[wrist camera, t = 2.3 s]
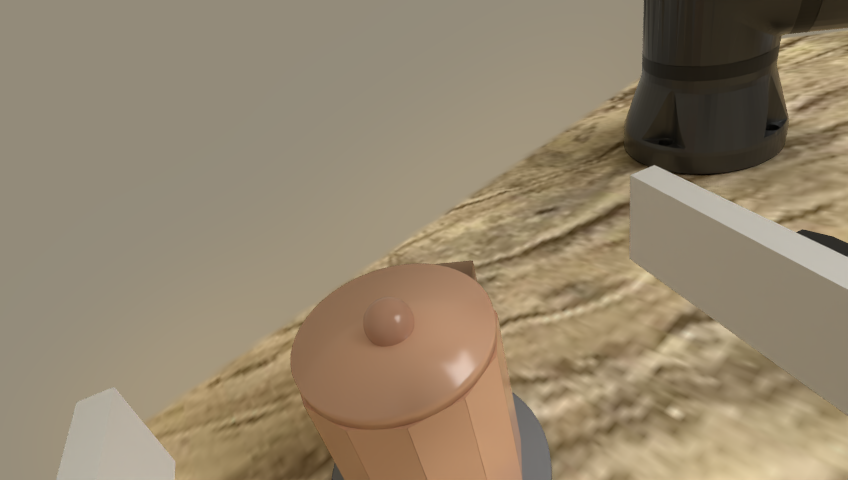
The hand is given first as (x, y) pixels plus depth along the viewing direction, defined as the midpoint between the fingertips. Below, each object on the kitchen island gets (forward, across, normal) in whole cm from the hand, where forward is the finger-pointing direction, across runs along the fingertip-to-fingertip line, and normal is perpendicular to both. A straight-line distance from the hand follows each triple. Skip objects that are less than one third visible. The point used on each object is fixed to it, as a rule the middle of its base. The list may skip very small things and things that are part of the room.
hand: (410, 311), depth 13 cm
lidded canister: (+9, 0, -19) cm, 21 cm away
